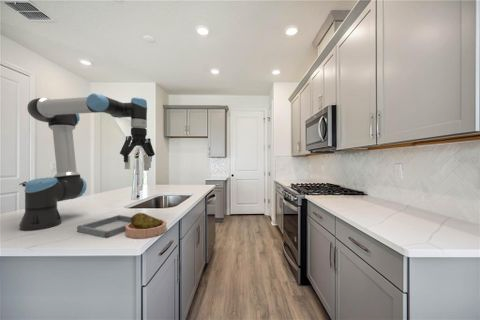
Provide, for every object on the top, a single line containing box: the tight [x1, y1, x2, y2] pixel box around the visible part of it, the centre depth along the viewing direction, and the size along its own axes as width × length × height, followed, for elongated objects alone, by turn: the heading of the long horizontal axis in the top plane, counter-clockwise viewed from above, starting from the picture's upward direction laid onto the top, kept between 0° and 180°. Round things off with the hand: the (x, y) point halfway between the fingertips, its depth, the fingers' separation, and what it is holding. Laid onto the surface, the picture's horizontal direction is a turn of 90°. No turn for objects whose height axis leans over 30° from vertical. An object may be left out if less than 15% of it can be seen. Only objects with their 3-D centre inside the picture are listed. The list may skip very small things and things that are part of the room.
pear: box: [130, 212, 162, 229], centre depth 98 cm, size 8×13×8 cm, turn 84°
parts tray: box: [76, 214, 132, 239], centre depth 103 cm, size 19×21×2 cm
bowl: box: [124, 218, 167, 239], centre depth 98 cm, size 17×17×4 cm
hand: (138, 168), depth 111 cm, fingers open, 13 cm apart
